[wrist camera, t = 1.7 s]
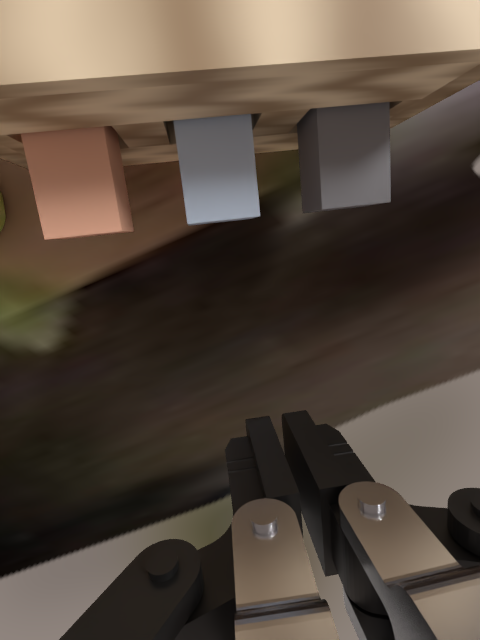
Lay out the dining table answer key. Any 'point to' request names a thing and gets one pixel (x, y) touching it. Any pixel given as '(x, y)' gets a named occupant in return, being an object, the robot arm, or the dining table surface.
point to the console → (223, 65)
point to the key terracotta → (78, 182)
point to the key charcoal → (344, 156)
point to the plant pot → (2, 212)
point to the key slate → (217, 168)
